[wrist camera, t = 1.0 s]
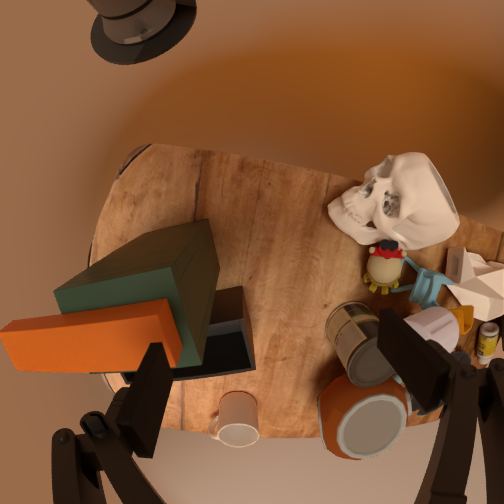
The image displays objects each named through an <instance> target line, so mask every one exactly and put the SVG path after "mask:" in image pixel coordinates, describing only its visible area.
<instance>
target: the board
mask: <svg viewBox="0 0 504 504" xmlns="http://www.w3.org/2000/svg"><path fill="white" fill-rule="evenodd" d="M450 354H451V355H452V356H453V357H454V358H455V359H456V360H458V361H459V362H460V363H461V364H462V365H463V364H470V365H471V358H470V356H469V355H468V354H467V353H466V352H461V351H455V352H452V353H450ZM410 397H411V406H412V412H414V411H416V410H417V409H419V412H418V413H417V415H418V416H424V415H427V414H429V413H430V412H433V411H435V410H437V409H438V408H440V407H441V406H443V405H444V402H443V401H442V400H440V402H439V405H438V407H437V408H435V409H433V410H431V411H429V412H425V411H424V410H423V408H422V407H421V405H420V404H419V403H418V401H417V400H416V399H415V397H414V396H413V394H412V393H410Z"/></svg>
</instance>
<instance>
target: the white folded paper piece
mask: <svg viewBox="0 0 504 504" xmlns="http://www.w3.org/2000/svg"><path fill="white" fill-rule="evenodd" d="M445 277H446V278H448V279H450V280H451V281H452V282H454V285H447V287H448V288H449V289H450V290H451V292H452V293H453V294H454V295H455V297H456V298H457V299H458V301H459V302H460V303H461V305H462V306H463V305H472V306H474V318H477V319H480V320H483V321H486V322H487V321H489V320H492V319H494V318H497V317H499V316H502V315H503V314H504V264H502V263H498V262H493V261H489V262H487V263H486V262H485V261H484V259H483V258H482V257H481V256H480V255H479V254H475V253H469V252H467V251H466V249H465V246H463V247H456V248H449V249H448V256H447V265H446V273H445Z"/></svg>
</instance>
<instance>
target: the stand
mask: <svg viewBox="0 0 504 504" xmlns="http://www.w3.org/2000/svg"><path fill="white" fill-rule="evenodd" d="M219 271H220V266H219V262H218V258H217V254H216V250H215V245H214V241H213V237H212V232H211V228H210V223H209V219H204V220H200V221H195V222H191V223H186V224H182V225H178V226H173V227H169V228H165V229H161V230H156V231H152V232H148V233H144V234H142V235H140V236H139V237H137V238H135V239H134V240H132V241H130V242H129V243H127V244H125V245H124V246H122V247H120V248H119V249H117V250H116V251H114V252H112V253H111V254H109V255H108V256H106V257H104V258H103V259H101V260H100V261H98V262H96V263H95V264H93V265H92V266H90V267H89V268H87V269H86V270H84V271H83V272H81V273H80V274H78V275H76V276H75V277H74V278H72V279H70V280H69V281H68V282H66V283H65V284H63V285H62V286H60V287H58V288H57V289H56V290H54V291H53V292H54V295H55V297H56V300H57V303H58V305H59V308H60V311H61V313H62V314H67V313H74V312H81V311H88V310H95V309H102V308H108V307H115V306H121V305H128V304H134V303H140V302H146V301H152V300H158V299H164V298H167V300H168V303H169V306H170V309H171V313H172V316H173V319H174V322H175V325H176V328H177V331H178V334H179V337H180V339H181V342H182V345H183V347H182V351H181V354H180V357H179V361H178V364H177V367H171V369H172V368H181V367H189V366H197V365H202V362H203V357H204V350H205V344H206V339H207V333H208V328H209V322H210V317H211V312H212V306H213V301H214V296H215V291H216V286H217V281H218V276H219ZM123 372H137V370H134V371H115V372H89V373H90V374H98V373H99V374H102V373H123Z"/></svg>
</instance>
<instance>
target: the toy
mask: <svg viewBox="0 0 504 504" xmlns="http://www.w3.org/2000/svg"><path fill="white" fill-rule="evenodd" d="M398 246H399V243H398V242H397V241H395V240H387V239H383V240H381V241H380V245H379V249H378V248H377V247H376V246H374V247H370V248H369V252H370V257H369V260H368V264H367V266H366V270H367V273H366V274H364V282H366V283H367V282H372V283H371V285H370V287H369V290H370V291H372V292H375V290H376V289H377V287H378V286H379V287H381V294H383V295H385V294H388V292H389V290H388V287H389V286H390V287H391V288H392V289H396V288H397V287H398V286H399V283H398V281H397V280H398V278H399V277H400V276H401V273H400V272H401V269H402V262H401V259H404V258H405V256H406V255H407V252H406V251H405V250H403V249H400V250H398Z"/></svg>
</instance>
